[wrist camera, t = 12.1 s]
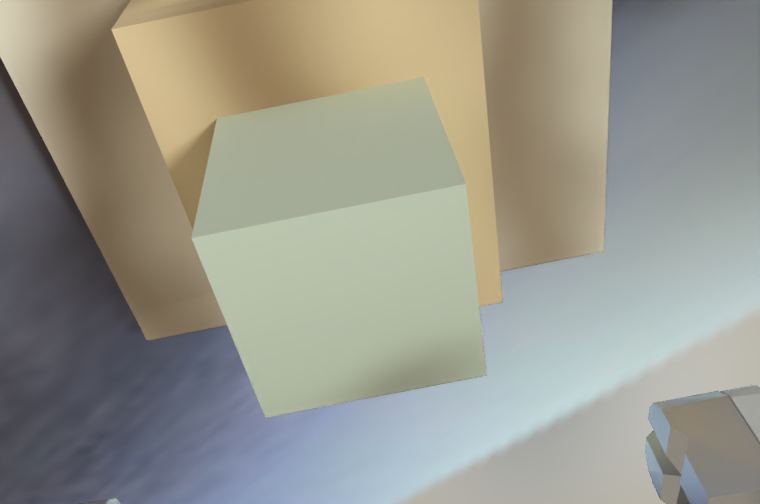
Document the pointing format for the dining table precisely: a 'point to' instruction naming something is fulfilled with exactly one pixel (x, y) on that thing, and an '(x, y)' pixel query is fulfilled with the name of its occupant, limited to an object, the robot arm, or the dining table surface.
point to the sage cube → (341, 248)
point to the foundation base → (150, 209)
